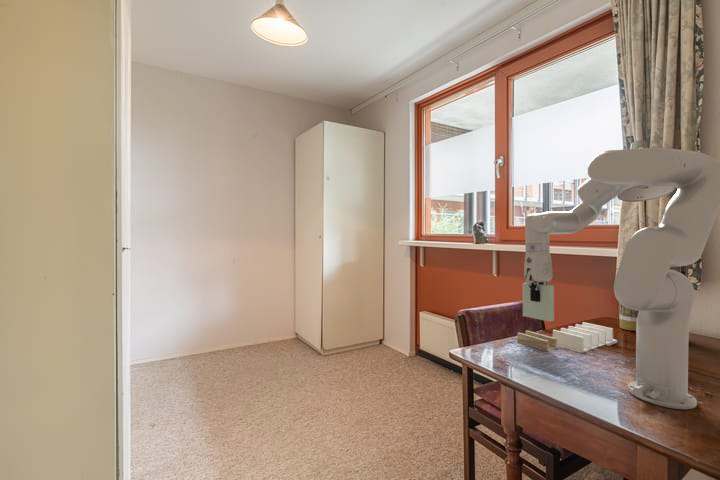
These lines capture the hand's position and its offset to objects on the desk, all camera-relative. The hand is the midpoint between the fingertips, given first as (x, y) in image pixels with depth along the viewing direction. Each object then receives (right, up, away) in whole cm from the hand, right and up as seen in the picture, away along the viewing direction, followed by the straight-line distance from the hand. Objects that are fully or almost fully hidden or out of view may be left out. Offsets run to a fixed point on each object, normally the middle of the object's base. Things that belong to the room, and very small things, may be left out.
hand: (537, 300), depth 117 cm
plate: (0, -6, 0) cm, 6 cm away
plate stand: (0, -17, +1) cm, 17 cm away
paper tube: (+50, -16, +22) cm, 57 cm away
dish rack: (+18, -17, +3) cm, 25 cm away
